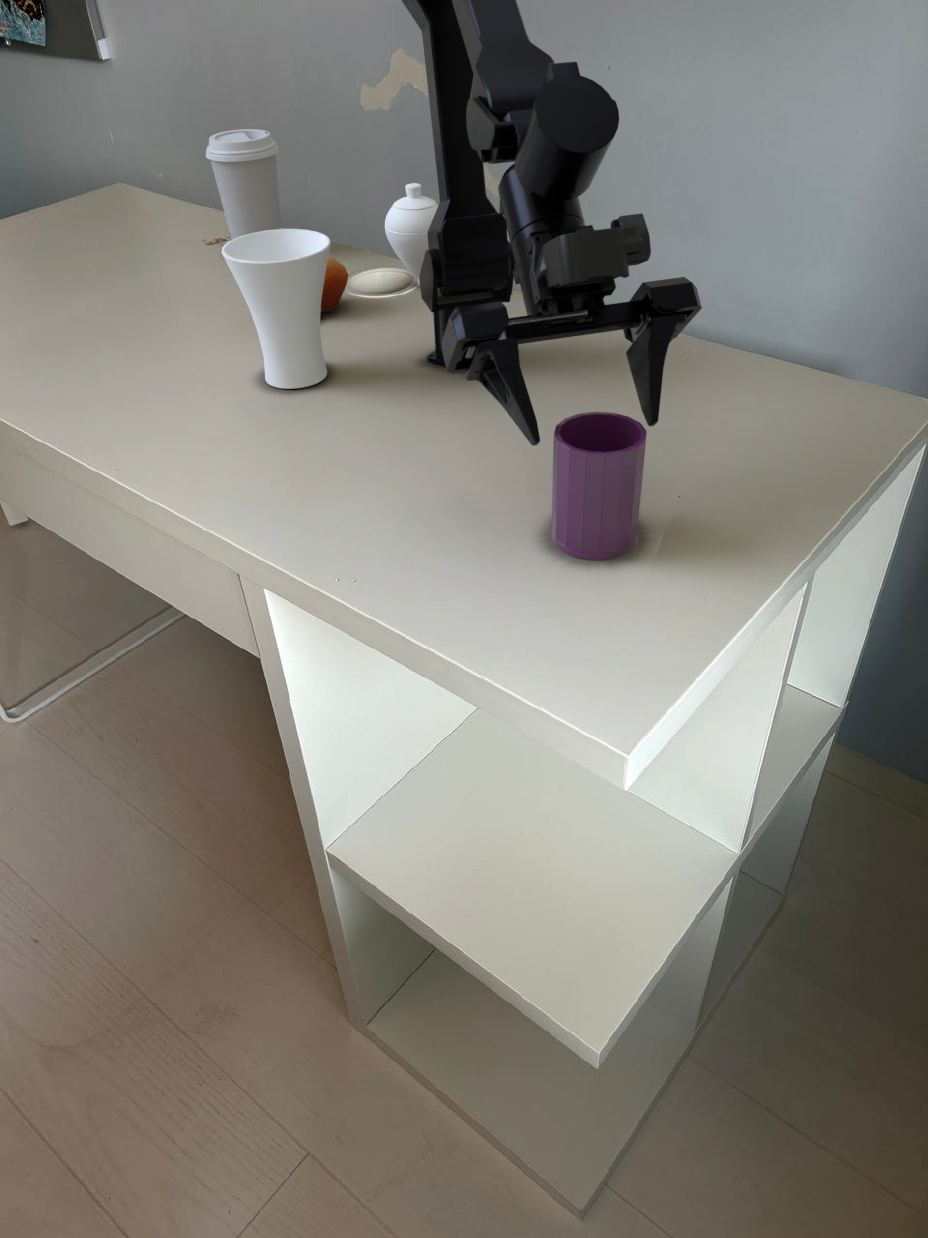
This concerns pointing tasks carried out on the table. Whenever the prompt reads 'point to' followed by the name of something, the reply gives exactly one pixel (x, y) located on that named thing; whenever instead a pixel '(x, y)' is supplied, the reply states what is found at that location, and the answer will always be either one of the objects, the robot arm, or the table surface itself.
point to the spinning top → (410, 227)
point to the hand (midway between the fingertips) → (595, 434)
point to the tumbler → (597, 484)
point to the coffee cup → (246, 179)
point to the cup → (284, 299)
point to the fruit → (333, 284)
